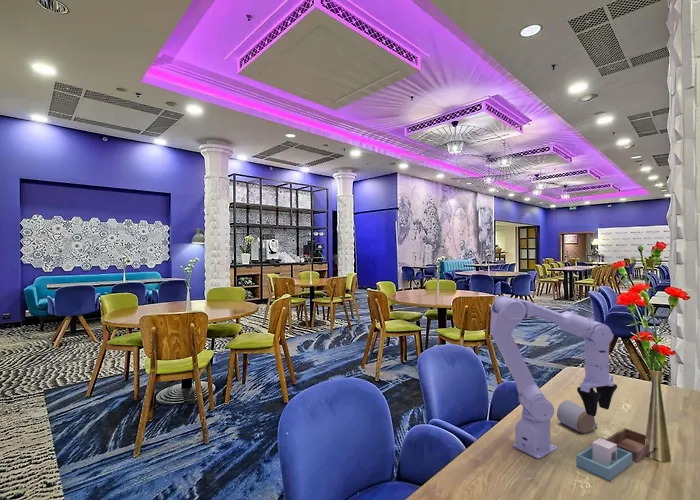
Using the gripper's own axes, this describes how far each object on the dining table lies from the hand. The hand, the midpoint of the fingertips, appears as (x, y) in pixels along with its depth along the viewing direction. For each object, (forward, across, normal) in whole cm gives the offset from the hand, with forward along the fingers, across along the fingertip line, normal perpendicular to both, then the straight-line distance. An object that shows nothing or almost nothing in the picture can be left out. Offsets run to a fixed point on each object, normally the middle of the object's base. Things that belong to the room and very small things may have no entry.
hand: (597, 411), depth 106 cm
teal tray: (+10, -8, -5) cm, 14 cm away
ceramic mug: (+11, +8, +9) cm, 16 cm away
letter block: (+10, -8, -5) cm, 14 cm away
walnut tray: (+10, +6, -6) cm, 13 cm away
